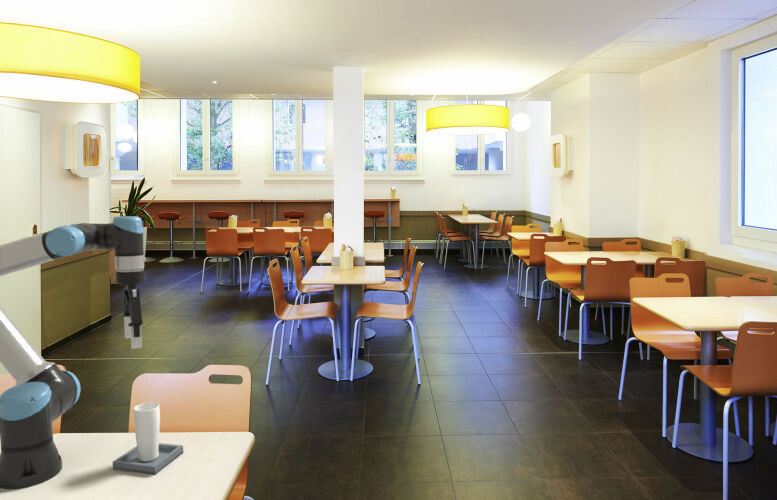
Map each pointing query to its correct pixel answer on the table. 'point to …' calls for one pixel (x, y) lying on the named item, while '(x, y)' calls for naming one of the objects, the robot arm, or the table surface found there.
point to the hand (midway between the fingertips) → (133, 342)
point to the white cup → (147, 430)
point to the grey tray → (151, 467)
